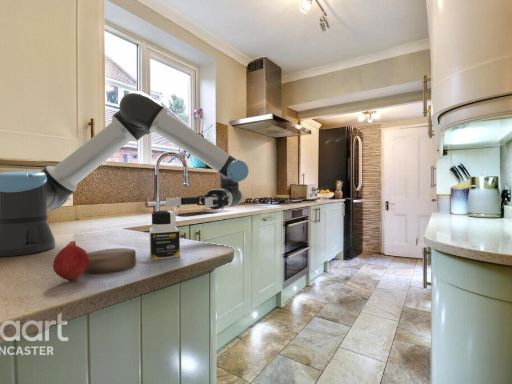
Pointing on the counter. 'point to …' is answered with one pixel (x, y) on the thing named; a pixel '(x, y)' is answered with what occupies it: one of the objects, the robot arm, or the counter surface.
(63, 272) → the onion
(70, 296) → the counter surface
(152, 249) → the medicine bottle
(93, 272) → the walnut stand
